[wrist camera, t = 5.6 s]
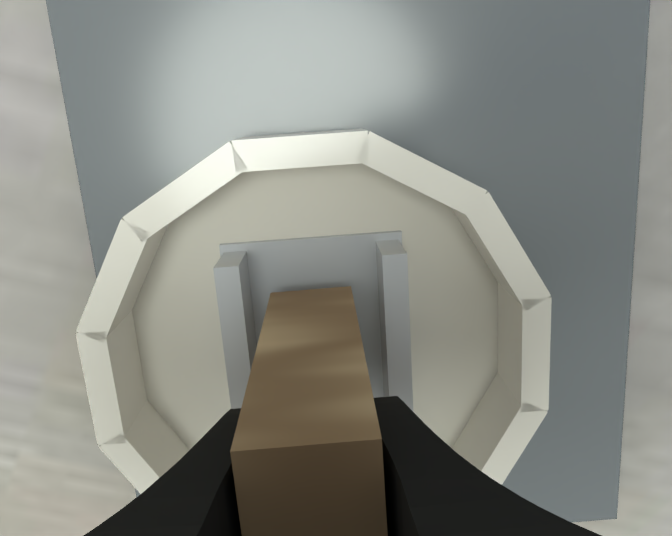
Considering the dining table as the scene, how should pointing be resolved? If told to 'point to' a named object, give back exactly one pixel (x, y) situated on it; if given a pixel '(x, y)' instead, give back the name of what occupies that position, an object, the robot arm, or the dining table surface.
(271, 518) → the tan cardboard box
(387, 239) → the plate
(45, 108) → the dining table surface
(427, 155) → the slate board
